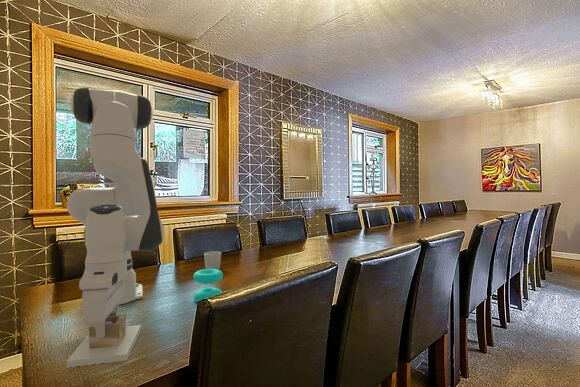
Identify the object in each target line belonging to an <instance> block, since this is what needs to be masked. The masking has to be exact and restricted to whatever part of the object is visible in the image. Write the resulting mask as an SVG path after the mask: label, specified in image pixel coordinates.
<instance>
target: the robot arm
mask: <svg viewBox="0 0 580 387" xmlns="http://www.w3.org/2000/svg"><path fill="white" fill-rule="evenodd" d="M70 109H71V112H72V114H73V116H74V119H76V120H77V121H78V122H80V123H83V124H86V125H90V124H91V128H90V154H91V157H92V159H93V168H94V171H95V172H96V173H97V174H99V175H100V176H101V177H104V178H105V179H108V180H111V181H112V182H113V183H114V186H113V187H88V188H82V189H76V190H74V191H73V192H71V193H70V195H69V196H68V197H67V202H66V209H67V212H68V214H69V215H70V216H71V217H72V219H74V220H76V221H78V222H80V223H81V224H82V225H83V226H84V231H83V245H84V247H86V257H85V261H84V265H85V268H84V272H83V275H82V277H81V278H80V279H79V282H78V284H79V290H81V291H82V293H81V294H82V295H81V308H82V318H83V322H84V323H85V325H86V326H91V325H94V328H95V330H96V337H97V338H101V337H104V336H105V334H106V327H105V319H106V318H107V317H108V316H114V315H118V312H119V305H123V304H127V303H130V302H132V301H136V300H139V299H143V298H144V293H143V292H144V290H143V289H144V288H143V284H141V283H139V282H138V283H137V273H136V272H135V270H134V269H133V257H132V254H131V251H135V252H136V251H139V252H152V251H154V250H156V249H158V247H159V246H161V244H162V243H163V242H164V236H165V230H164V225H163V222H162V219H161V217H160V214H159V211H158V210H159V209H158V203H157V199H156V194H155V193H156V192H155V189H154V188H155V187H154V183H153V178H152V174H151V170H150V167H149V162H148V161H147V160H146V159H145V158H144V157H141V155H139V153H138V151H137V146H136V133H137V132H139V130H143V129H146V128H148V126H150V125H151V122H152V120H153V116H154V109H153V105H152V102H151V100H150V99H149V98H148V97H146V96H144V95H140V94H134V93H130V92H127V91H126V92H125V91H120V90H110V89H99V88H90V87H80V88H79V87H78V88H77V89H76V90H75V91H74V92H73V95H72V96H71V99H70Z"/></svg>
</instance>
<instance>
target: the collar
mask: <svg viewBox="0 0 580 387" xmlns="http://www.w3.org/2000/svg"><path fill="white" fill-rule="evenodd" d="M126 319H127V317H126V314H117V315H114V316H108V317H107V318H106V319H105V322H107V321H112V323H111V324H105V327H106V334H105V336H104V337H101V338H97V337H96V330H95V328H94V325H89V326H88V334H89V349H92V348H101V347H110V346H119V345H120V343H121V341H122V340H123V338H124V336H125V334H126V326H127V324H126V322H127V321H126Z"/></svg>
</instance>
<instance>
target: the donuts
mask: <svg viewBox="0 0 580 387" xmlns="http://www.w3.org/2000/svg"><path fill="white" fill-rule="evenodd" d="M223 276H224V273H223V271H222V270H221V269H206V268H204V269H199V270H197V271H196V272H194V273H193V276H192V278H193V280H194V282H196V283H198V284H202V285H212V284H215V283H218V282H220V281H221V280H222V279H223ZM222 292H223V291H222V290H221V289H220V288H219V287H212V286H210V287H203V288H199V289H197V290H196V291H195V292H194V293H193V300H194V301H195V302H196V303H197V302H198V301H199V300H201V299H204V298H207V297H211V296H214V295H217V294H220V293H222Z"/></svg>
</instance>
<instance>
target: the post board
mask: <svg viewBox="0 0 580 387" xmlns="http://www.w3.org/2000/svg"><path fill="white" fill-rule="evenodd" d="M111 323H112V321H107V322H105V324H111ZM141 331H142V325H141V324H136V325H135V324H134V325H126V334H125V336H124V338H123V340H122V341H121V343H120V345H119V346H110V347H101V348H92V349H89V333H88V334H87V335H86V336H85V338H84V339H83V340H82V341H81V343H80V344H79V345H78V346H77V347H76V349H75V350H74V352H73V353H71V355H69V357H68V358H67V360H66V363H65V364H66V366H65V368H66V369H69V368H70V367H72V368H77V366H80V367H84V366H83V365H88V366H92V365H91V364H96V365H102V364H101V363H105V364H112V363H120V362H127V361H128V358H129V357H130V356H131V353H132V350H133V348H134V346H135V345H136V342H137V341H138V337H139V336H140V333H141Z"/></svg>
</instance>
